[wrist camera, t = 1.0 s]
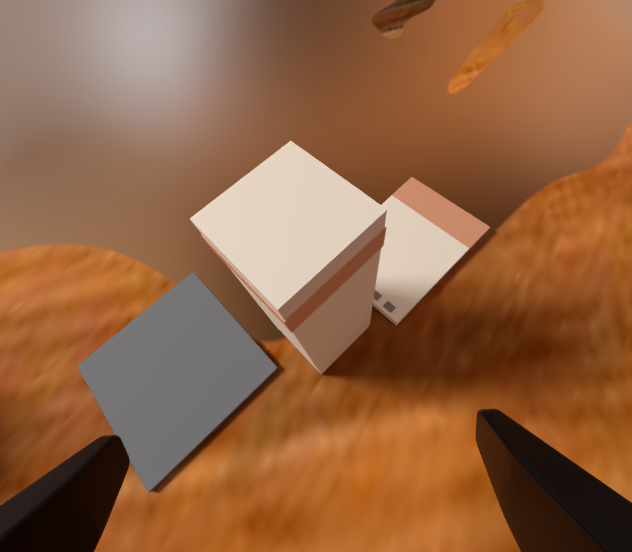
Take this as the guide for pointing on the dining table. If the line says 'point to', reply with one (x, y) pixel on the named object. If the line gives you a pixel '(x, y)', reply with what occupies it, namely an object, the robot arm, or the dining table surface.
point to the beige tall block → (301, 249)
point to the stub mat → (174, 377)
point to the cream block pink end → (419, 246)
